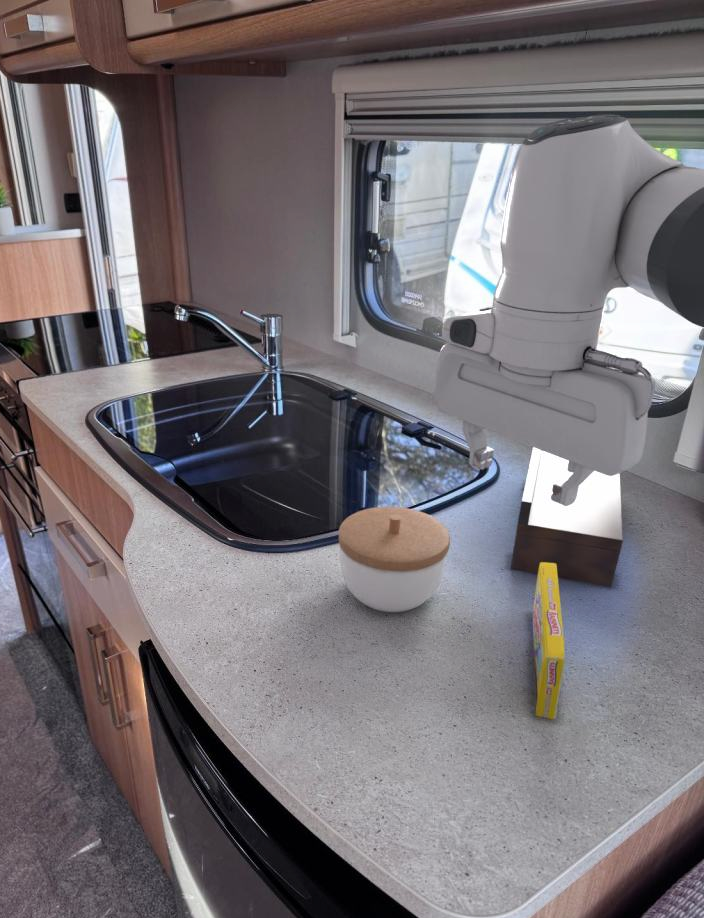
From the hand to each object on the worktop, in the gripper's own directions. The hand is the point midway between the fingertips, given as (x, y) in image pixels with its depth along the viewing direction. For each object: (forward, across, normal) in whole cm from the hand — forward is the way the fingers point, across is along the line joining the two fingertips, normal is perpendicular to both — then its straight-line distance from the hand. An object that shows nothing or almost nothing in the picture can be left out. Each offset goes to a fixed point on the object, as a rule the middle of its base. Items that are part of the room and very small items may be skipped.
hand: (519, 483), depth 67 cm
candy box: (+21, -4, -2) cm, 22 cm away
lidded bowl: (+21, +14, +1) cm, 25 cm away
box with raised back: (+21, +11, -28) cm, 37 cm away
